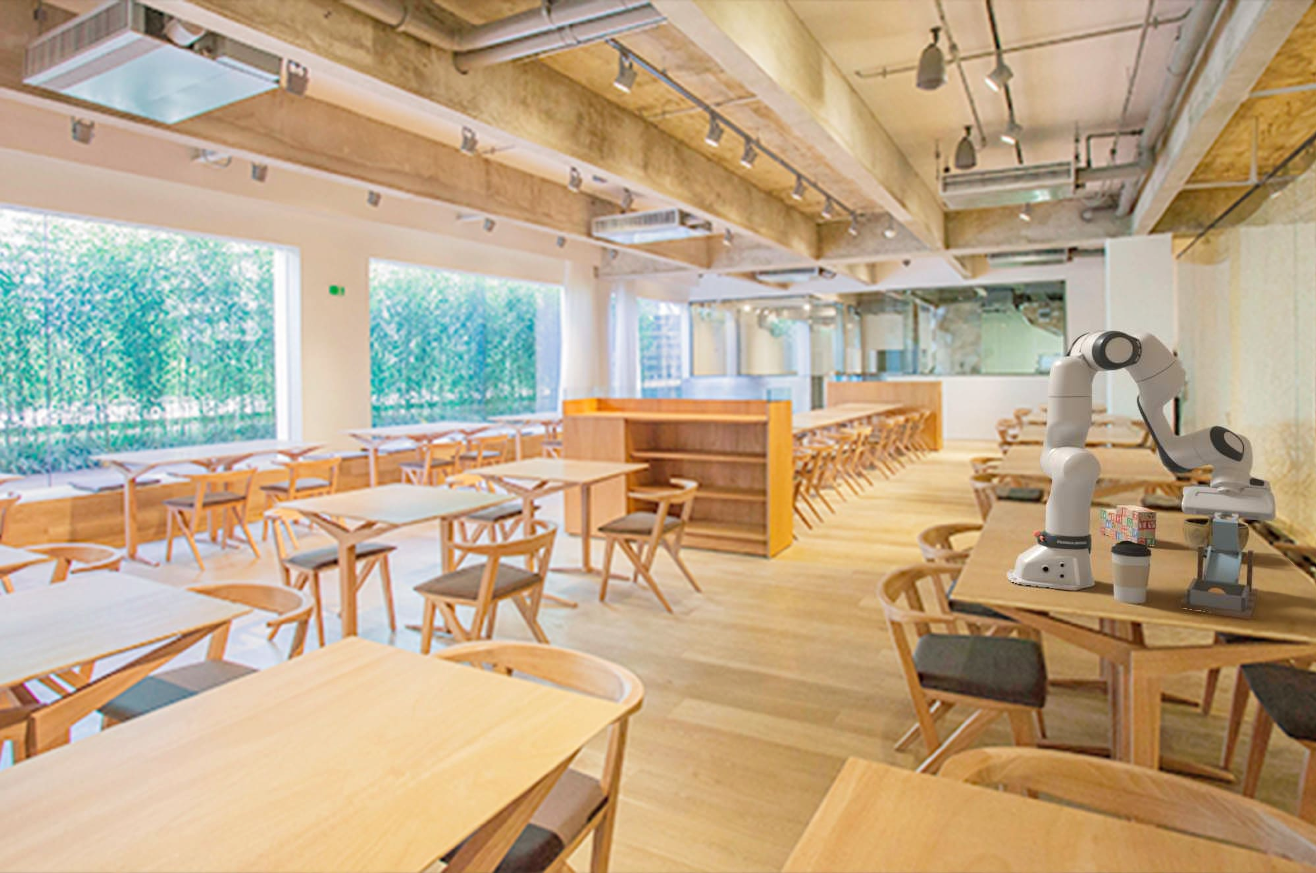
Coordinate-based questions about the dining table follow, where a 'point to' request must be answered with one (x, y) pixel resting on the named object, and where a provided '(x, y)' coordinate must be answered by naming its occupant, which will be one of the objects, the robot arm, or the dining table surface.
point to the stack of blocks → (1129, 524)
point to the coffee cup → (1130, 571)
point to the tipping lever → (1224, 554)
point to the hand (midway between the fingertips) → (1225, 528)
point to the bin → (1218, 595)
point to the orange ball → (1216, 591)
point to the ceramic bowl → (1209, 533)
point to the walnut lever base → (1225, 612)
